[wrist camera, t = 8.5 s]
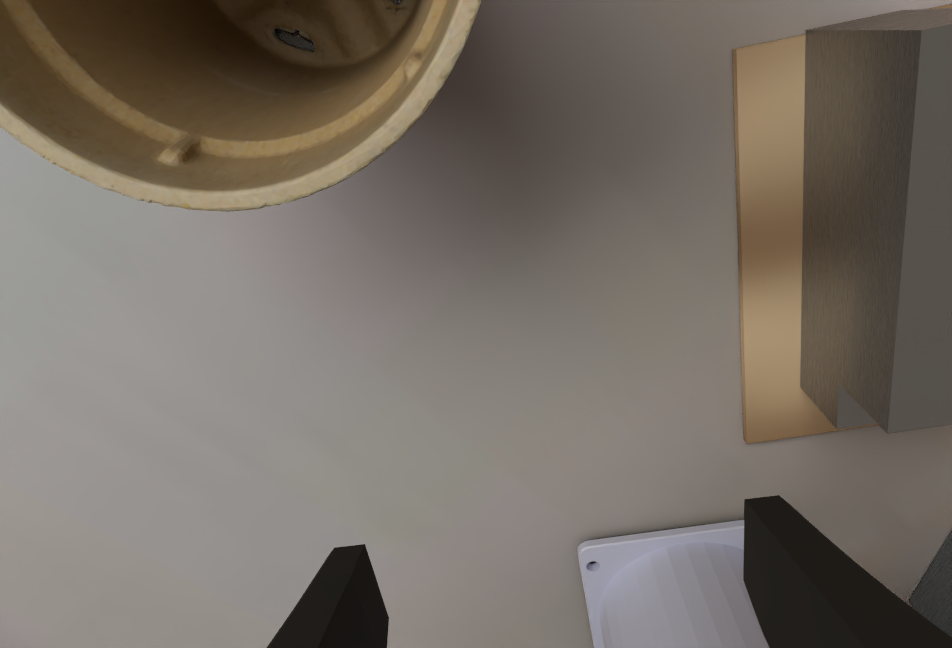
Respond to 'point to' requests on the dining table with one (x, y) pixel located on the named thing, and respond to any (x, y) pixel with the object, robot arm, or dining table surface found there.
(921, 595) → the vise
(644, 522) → the dining table surface
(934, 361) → the uneven u-shaped block
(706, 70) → the dining table surface
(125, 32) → the flower pot
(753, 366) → the plate
